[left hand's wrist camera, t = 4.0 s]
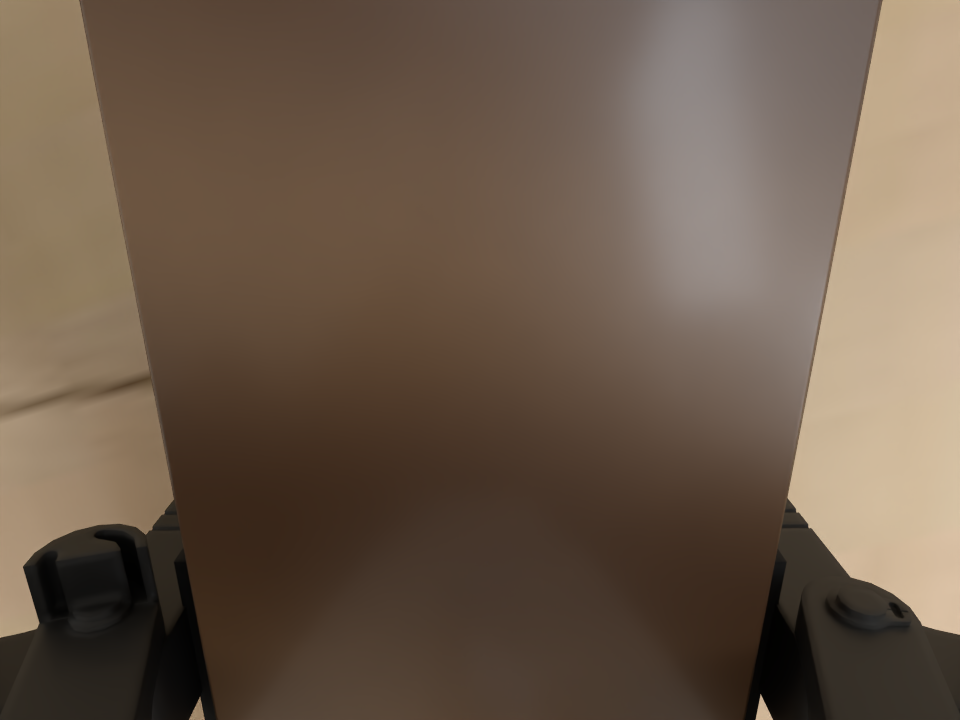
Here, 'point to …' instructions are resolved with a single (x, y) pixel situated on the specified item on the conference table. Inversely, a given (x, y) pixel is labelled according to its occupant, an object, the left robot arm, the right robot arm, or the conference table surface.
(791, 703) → the left robot arm
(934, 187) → the conference table surface
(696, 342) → the beam
